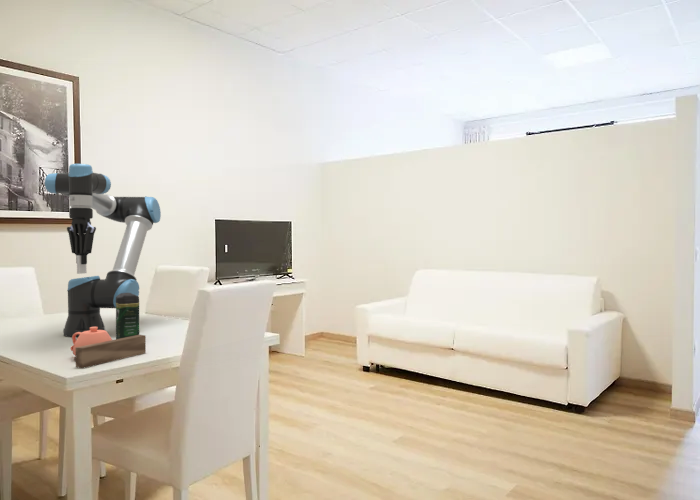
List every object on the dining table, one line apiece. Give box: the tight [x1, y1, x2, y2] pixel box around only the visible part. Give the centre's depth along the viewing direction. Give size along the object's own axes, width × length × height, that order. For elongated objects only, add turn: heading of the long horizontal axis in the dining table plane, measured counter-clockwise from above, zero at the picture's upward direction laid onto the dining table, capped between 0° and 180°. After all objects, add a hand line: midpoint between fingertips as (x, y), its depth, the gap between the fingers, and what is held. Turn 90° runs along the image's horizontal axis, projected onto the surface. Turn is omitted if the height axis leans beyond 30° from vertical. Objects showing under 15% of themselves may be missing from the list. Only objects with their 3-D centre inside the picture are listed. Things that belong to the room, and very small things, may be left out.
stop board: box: [75, 334, 147, 369], centre depth 174 cm, size 3×24×6 cm, turn 153°
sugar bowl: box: [70, 327, 113, 357], centre depth 176 cm, size 12×14×10 cm
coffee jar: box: [115, 293, 140, 339], centre depth 202 cm, size 10×8×19 cm
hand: (81, 273), depth 193 cm, fingers closed
